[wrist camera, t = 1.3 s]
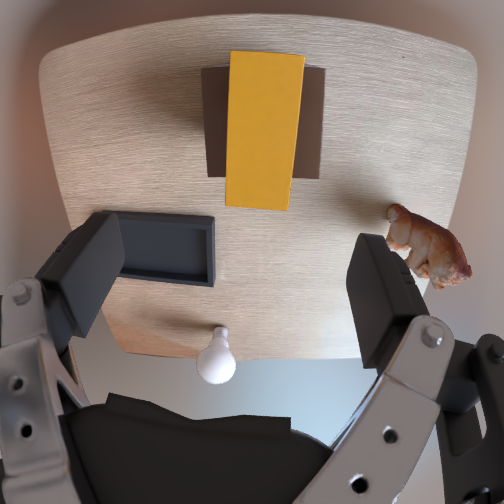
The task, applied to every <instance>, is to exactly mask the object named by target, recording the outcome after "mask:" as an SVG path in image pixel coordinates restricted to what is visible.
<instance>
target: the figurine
mask: <svg viewBox="0 0 504 504" xmlns="http://www.w3.org/2000/svg"><path fill="white" fill-rule="evenodd" d="M387 215H388V219H389V223H391V226H390V229H389V232H388V235H387V238H386V243H387V245H388V247H389V248H390V249H394V250H403V251H405V250H408V248H409V247H411V250H410V252H409V256H408V257H407V259H405V260H404V261H405V262H406V264H407V266H408V268H409V269H411V270H412V271H413V272H414V273H415V274H416V275H417V276H418V277H419V278H424V279H428V278H430V281H431V282H432V285H433V287H434V288H435V289H436V290H441V289H443V288H444V287H445V285H447V284H449V285H457V284H458V283H460V282H461V281H462V280H467V279H470V278H471V276H472V271H471V267H470V265H468V264H467V259H466V257H465V254H464V252H463V249H462V247H461V245H460V243H459V242H458V240H457V239H456V238H455V236H454V235H453V234H452V233H451V232H450V231H449V230H447V229H445V228H443V227H441V226H440V225H437V224H436V223H434V222H432V221H430V220H428V219H426V218H424V217H422V216H420V215H417V214H415V213H411V212H410V211H408V210H407V209H406V208H405V207H404V206H401V205H399V204H395V205H392V206H390V207H389V209H388V212H387Z"/></svg>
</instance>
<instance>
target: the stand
mask: <svg viewBox="0 0 504 504" xmlns="http://www.w3.org/2000/svg"><path fill="white" fill-rule="evenodd" d="M229 70H230V63H226V64H219V65H214V66H209V67H203V68H201V79H202V99H203V116H204V131H205V146H206V160H207V173H208V177H226V151H227V119H228V93H229ZM325 72H326V69H325V68H321V67H317V66H313V65H308V64H304V71H303V82H302V92H301V101H300V111H299V120H298V129H297V138H296V147H295V156H294V164H293V173H292V178H308V179H319V174H320V161H321V148H322V133H323V117H324V97H325Z"/></svg>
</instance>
